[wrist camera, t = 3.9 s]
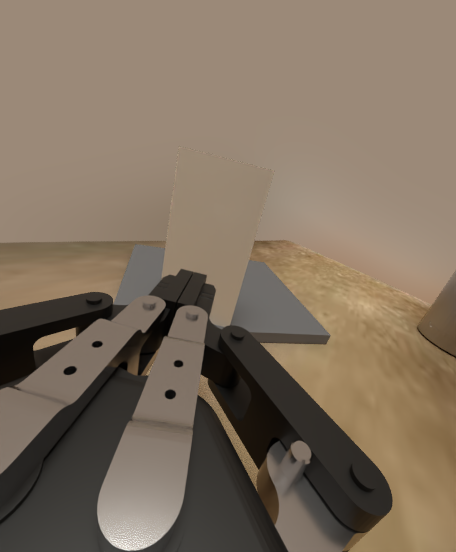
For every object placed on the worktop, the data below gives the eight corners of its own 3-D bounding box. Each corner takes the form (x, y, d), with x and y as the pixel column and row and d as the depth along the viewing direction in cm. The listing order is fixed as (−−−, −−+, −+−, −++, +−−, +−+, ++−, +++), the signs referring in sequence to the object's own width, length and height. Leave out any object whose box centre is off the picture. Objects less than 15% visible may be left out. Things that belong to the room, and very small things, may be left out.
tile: (229, 328, 22) (274, 170, 17) (157, 310, 22) (178, 145, 17) (230, 315, 24) (271, 171, 19) (165, 299, 24) (186, 149, 19)
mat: (262, 268, 43) (264, 262, 43) (326, 344, 26) (330, 335, 25) (134, 251, 36) (135, 244, 36) (105, 337, 19) (105, 326, 19)
